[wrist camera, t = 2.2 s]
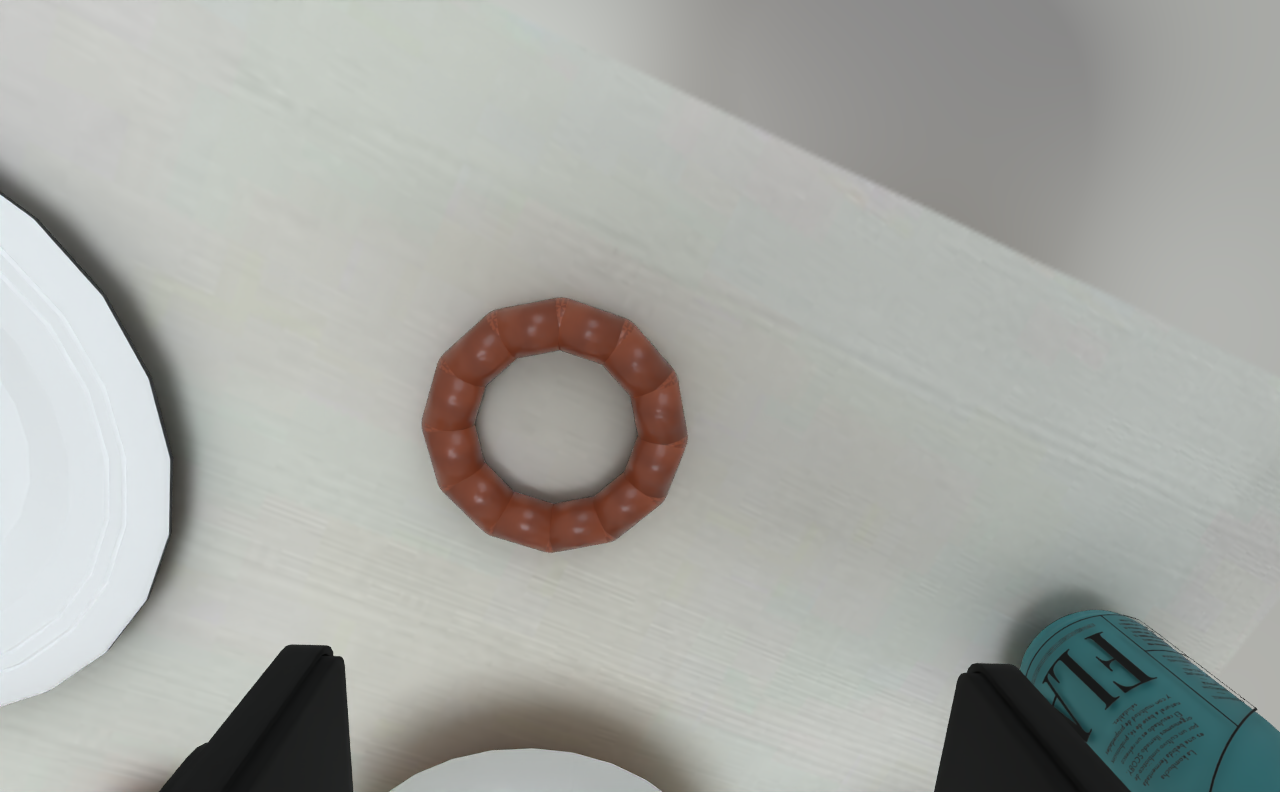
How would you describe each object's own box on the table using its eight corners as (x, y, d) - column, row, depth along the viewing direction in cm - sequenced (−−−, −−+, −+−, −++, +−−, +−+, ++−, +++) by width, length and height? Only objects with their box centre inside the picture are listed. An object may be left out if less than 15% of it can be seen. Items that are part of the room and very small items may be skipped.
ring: (658, 276, 25) (661, 280, 24) (700, 512, 28) (706, 533, 26) (403, 325, 26) (385, 332, 24) (468, 555, 28) (457, 579, 26)
